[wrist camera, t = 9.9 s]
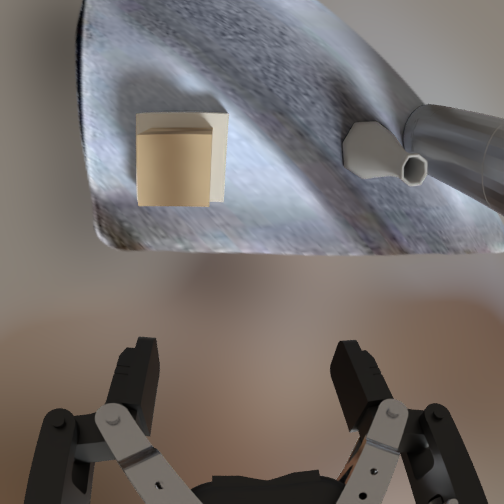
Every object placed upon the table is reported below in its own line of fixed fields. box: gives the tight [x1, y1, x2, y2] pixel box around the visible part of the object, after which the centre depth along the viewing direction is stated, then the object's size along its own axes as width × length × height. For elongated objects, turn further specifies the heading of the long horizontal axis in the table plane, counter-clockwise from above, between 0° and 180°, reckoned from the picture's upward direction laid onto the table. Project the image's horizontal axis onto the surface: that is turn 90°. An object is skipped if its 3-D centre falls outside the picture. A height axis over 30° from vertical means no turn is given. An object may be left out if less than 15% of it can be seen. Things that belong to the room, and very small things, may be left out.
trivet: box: [136, 112, 229, 202], centre depth 31 cm, size 9×9×3 cm
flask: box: [342, 121, 428, 186], centre depth 30 cm, size 7×7×10 cm
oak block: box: [137, 128, 213, 207], centre depth 27 cm, size 6×6×6 cm
